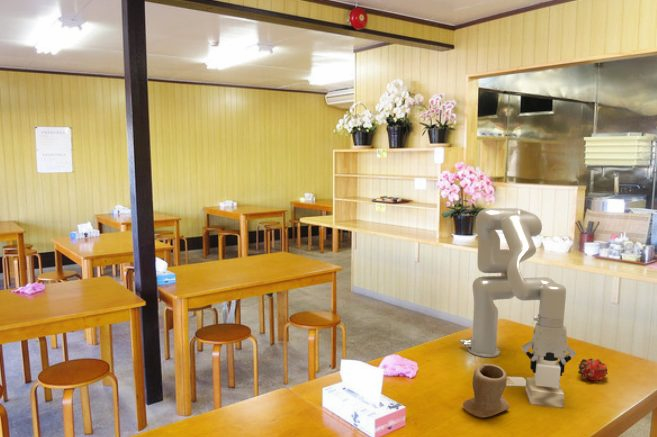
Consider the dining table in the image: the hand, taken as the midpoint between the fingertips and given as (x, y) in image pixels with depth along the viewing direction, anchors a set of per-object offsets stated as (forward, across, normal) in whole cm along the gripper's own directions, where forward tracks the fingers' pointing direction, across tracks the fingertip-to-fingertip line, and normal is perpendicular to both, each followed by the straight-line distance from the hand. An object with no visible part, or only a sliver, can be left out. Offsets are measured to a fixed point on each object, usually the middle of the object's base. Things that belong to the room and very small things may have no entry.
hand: (546, 372), depth 165 cm
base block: (+10, 0, 0) cm, 10 cm away
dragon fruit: (+10, +20, +21) cm, 30 cm away
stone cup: (+10, -19, -13) cm, 25 cm away
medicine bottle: (+4, 0, 0) cm, 4 cm away
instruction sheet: (+9, -9, +11) cm, 17 cm away
